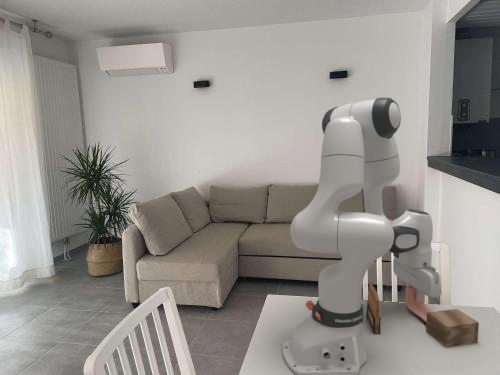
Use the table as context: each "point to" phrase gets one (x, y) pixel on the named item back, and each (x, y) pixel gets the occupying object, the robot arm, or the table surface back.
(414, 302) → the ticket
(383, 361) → the table surface
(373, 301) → the brown flat panel
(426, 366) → the table surface
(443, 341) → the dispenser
